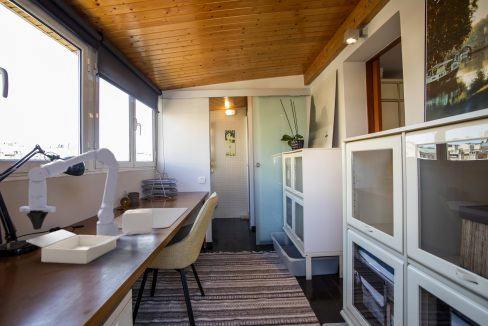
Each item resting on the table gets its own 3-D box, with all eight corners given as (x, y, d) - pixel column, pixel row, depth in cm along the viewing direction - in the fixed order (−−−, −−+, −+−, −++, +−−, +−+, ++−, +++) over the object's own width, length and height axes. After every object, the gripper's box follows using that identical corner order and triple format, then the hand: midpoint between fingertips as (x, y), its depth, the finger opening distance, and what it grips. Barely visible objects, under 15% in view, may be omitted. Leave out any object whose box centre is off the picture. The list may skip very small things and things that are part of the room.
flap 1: (26, 240, 94) (26, 241, 94) (42, 246, 93) (42, 247, 93) (62, 229, 110) (62, 230, 110) (76, 234, 109) (76, 235, 109)
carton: (78, 246, 110) (78, 234, 110) (116, 247, 108) (116, 236, 108) (41, 261, 92) (41, 248, 92) (86, 263, 90) (86, 250, 90)
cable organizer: (120, 235, 126) (120, 213, 126) (124, 230, 137) (124, 209, 137) (151, 233, 130) (151, 211, 130) (153, 228, 140) (153, 208, 141)
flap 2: (130, 231, 107) (131, 232, 107) (115, 235, 107) (116, 236, 107) (106, 243, 90) (106, 244, 90) (88, 248, 91) (88, 249, 91)
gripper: (12, 197, 99) (11, 231, 99) (45, 197, 98) (44, 232, 97) (29, 195, 106) (28, 226, 106) (60, 195, 105) (59, 227, 104)
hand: (37, 229), depth 102 cm, fingers closed
